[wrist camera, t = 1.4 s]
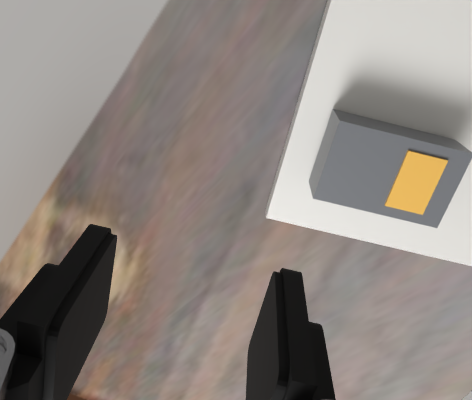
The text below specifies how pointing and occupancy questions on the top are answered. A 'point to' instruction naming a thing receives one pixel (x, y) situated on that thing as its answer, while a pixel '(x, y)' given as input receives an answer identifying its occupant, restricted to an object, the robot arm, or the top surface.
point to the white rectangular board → (384, 112)
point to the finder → (387, 169)
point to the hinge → (468, 396)
